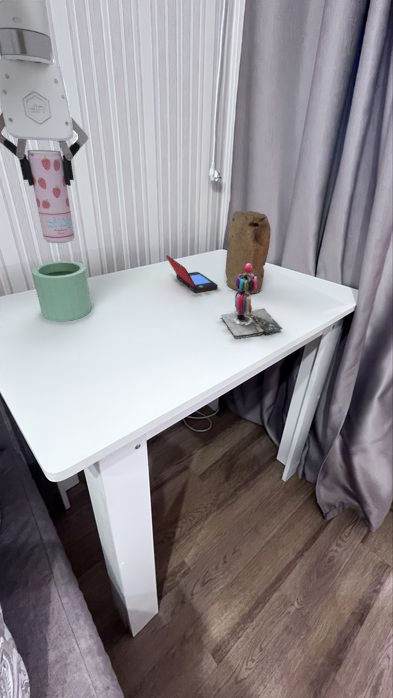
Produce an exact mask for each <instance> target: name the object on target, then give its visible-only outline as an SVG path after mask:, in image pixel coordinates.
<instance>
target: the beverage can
mask: <svg viewBox="0 0 393 698" xmlns="http://www.w3.org/2000/svg"><path fill="white" fill-rule="evenodd" d="M27 159H28V160H29V165H30V171H31V176H32V181H33V185H32V187H33V193H34V197H35V202H36V207H37V213H38V217H39V223H40V228H41V233H42V237H43V240H44V241H45V242H47V243H51V244H65V243H70V242H72V241H74V239H75V231H74V223H73V218H72V211H71V210H72V209H71V205H70V199H69V191H68V185H66V179H65V173H64V166H63V155H62V151H60V150H53V149H52V150H50V149H49V150H47V149H28V150H27Z"/></svg>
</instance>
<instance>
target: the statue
mask: <svg viewBox="0 0 393 698" xmlns="http://www.w3.org/2000/svg"><path fill="white" fill-rule="evenodd" d="M245 271H246V273H244V274H243V275H242V274H240V275H238V276H237V279H236V287H237V290H240V291H237V290H236V293H235V295H234V307H235V312H229V313H224V314H223V313H222V314H220V317H221V318H220V319H221V321H222V322H225V324H226V325H227V330H229V331H231V333H232V334H233V339H234V340H237V339H242V338H243V339H245V338H246V339H247V338H249V337H256V336H260V335H262V334H263V335H264V336H266V337H267V336H269V335H273V333H274V332H276V331H277V332H279V331H280V330H283V327H282V326H281V325H280V324H279V323H278V322H277V321H276V320H275V319H274V318H273V317H272V315H271V314H270V313H269V312H268V311H267V309H266V308H265V307H263V308H258V309H255V310H253V308H252V299H251V293H250V292H251V291H253V290H256V289H257V280H258V277H257V276H256V275H255V276H254V275H253V274H250V273H251V271H252V265H251V264H250V263H248V264H246V266H245Z"/></svg>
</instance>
